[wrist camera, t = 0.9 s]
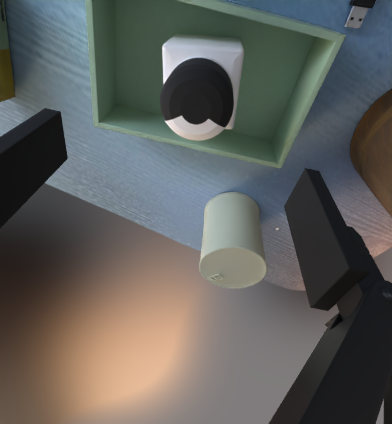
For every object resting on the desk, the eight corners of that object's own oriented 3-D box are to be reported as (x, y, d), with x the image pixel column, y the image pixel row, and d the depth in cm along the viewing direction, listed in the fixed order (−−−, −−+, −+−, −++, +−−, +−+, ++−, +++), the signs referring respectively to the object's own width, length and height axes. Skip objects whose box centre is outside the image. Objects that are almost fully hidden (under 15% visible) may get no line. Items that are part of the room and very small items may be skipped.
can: (193, 209, 44) (184, 267, 34) (238, 181, 39) (241, 239, 30) (226, 240, 48) (225, 298, 39) (270, 218, 43) (281, 278, 34)
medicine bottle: (174, 32, 27) (147, 54, 18) (241, 37, 27) (248, 61, 18) (174, 102, 32) (154, 146, 23) (232, 106, 32) (234, 153, 23)
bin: (112, 107, 33) (93, 126, 29) (110, -30, 25) (82, -35, 20) (273, 144, 35) (280, 169, 30) (324, 26, 26) (346, 35, 21)
